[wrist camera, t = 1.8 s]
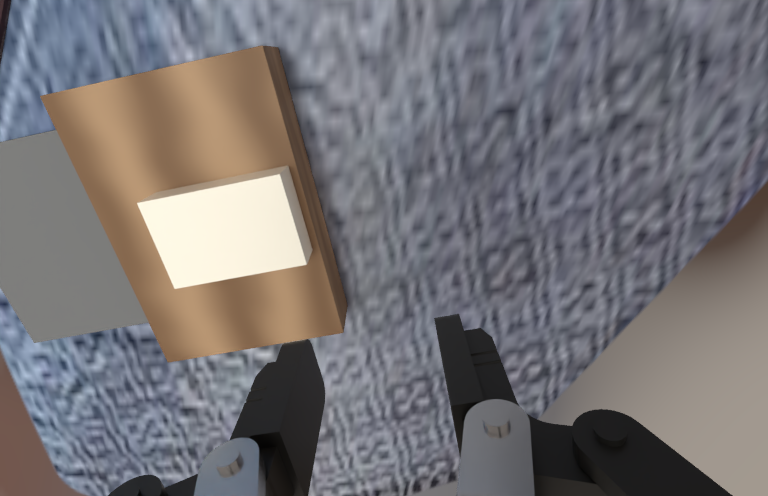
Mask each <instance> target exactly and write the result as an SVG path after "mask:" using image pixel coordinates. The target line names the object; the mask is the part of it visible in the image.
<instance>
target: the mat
mask: <svg viewBox="0 0 768 496" xmlns="http://www.w3.org/2000/svg"><path fill="white" fill-rule="evenodd" d="M0 288H1V289H2V291H3V293H4V294H5V296H6V298H7V299H8V301H9V302H10V304H11V306H12V307H13V309H14V311H15V312H16V314H17V316H18V317H19V319H20V320H21V322H22V324H23V325H24V327H25V329H26V330H27V332H28V333H29V335H30V337H31V338H32V340H33V342H34V343H36V342H42V341H48V340H53V339H59V338H64V337H70V336H76V335H81V334H87V333H92V332H98V331H104V330H109V329H115V328H121V327H126V326H132V325H137V324H143V323H149V322H148V320H147V318H146V316H145V313H144V311H143V309H142V307H141V305H140V303H139V301H138V299H137V297H136V295H135V293H134V291H133V288H132V286H131V284H130V282H129V280H128V278H127V276H126V274H125V272H124V270H123V268H122V266H121V264H120V261H119V259H118V257H117V255H116V253H115V251H114V249H113V247H112V245H111V243H110V241H109V239H108V236H107V234H106V232H105V230H104V228H103V226H102V224H101V222H100V220H99V218H98V216H97V214H96V212H95V209H94V207H93V205H92V203H91V201H90V199H89V197H88V195H87V193H86V191H85V189H84V187H83V184H82V182H81V180H80V178H79V176H78V174H77V172H76V170H75V168H74V166H73V164H72V162H71V160H70V157H69V155H68V153H67V151H66V149H65V147H64V145H63V143H62V141H61V139H60V137H59V135H58V132H57V130H54V131H49V132H45V133H40V134H36V135H31V136H27V137H22V138H18V139H13V140H8V141H4V142H0Z"/></svg>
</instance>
